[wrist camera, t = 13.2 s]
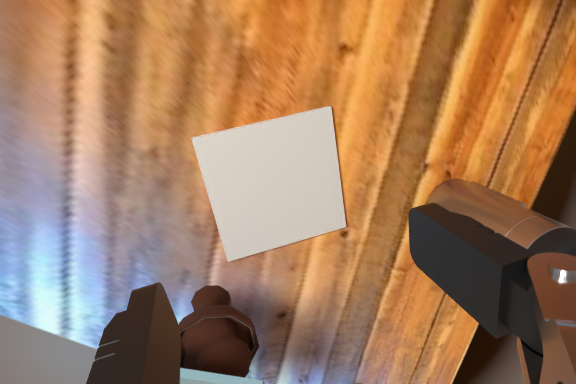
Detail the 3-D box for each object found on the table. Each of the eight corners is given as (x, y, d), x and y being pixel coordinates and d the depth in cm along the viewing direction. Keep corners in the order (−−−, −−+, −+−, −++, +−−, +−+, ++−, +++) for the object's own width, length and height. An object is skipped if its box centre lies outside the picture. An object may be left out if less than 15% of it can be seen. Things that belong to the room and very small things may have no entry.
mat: (329, 105, 45) (331, 106, 44) (344, 225, 52) (346, 226, 51) (191, 137, 42) (191, 138, 41) (227, 259, 49) (227, 261, 48)
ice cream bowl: (172, 270, 47) (164, 354, 34) (252, 269, 50) (274, 346, 37) (169, 332, 51) (160, 431, 37) (244, 328, 54) (261, 418, 40)
